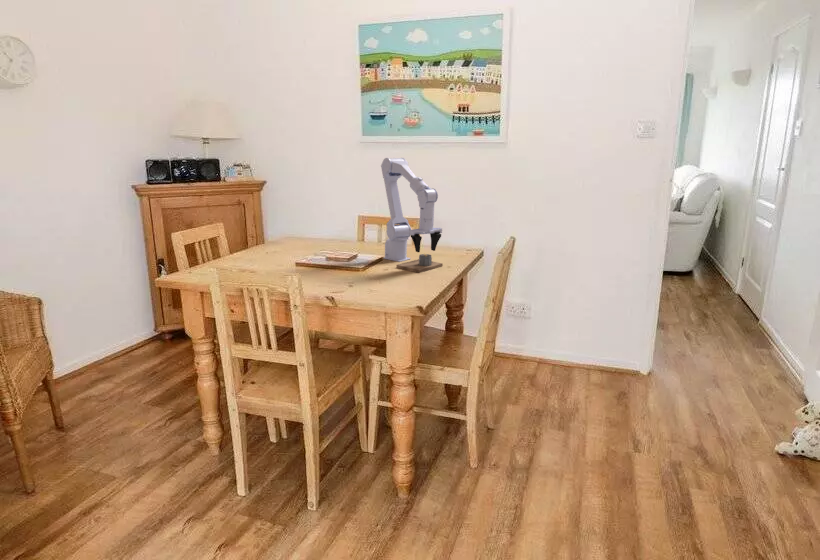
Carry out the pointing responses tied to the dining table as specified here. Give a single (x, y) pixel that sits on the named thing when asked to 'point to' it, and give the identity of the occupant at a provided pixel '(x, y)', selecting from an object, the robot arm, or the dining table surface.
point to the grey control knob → (425, 259)
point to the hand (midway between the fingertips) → (425, 251)
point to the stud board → (418, 266)
